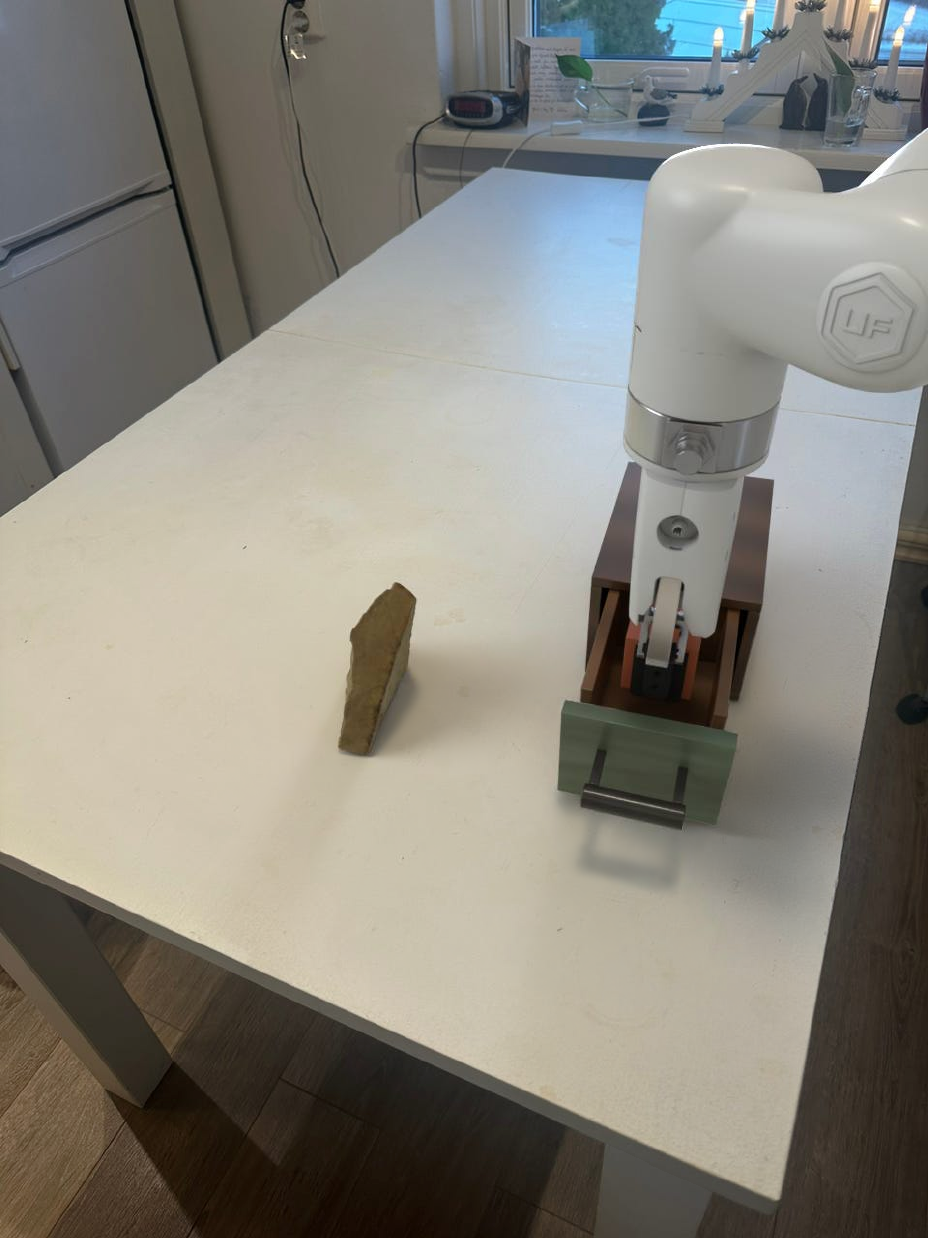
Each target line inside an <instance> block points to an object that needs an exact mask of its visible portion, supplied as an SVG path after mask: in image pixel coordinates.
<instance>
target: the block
mask: <svg viewBox="0 0 928 1238" xmlns="http://www.w3.org/2000/svg"><path fill="white" fill-rule="evenodd" d="M651 607H655V605H654V604H652V605H651ZM678 611H681V612H682V609H679V608H678ZM651 628H652V624H651ZM640 630H641V623H639V625H638V626H636V625H635V624H634V623H633V622H632V621H631V620H630V624H629V628H628V632H627V636H626V642H625V651H624V660H623V669H622V678H621V687H625V688H630V683H631V675H632V667H633V658H634V650H635V646H636V644H638V643H639V636H640ZM679 632H680V629H674V635H673V640H672V642H675V643H678V637H679ZM650 634H651V629H650ZM649 638H650V636H649ZM700 642H701V637H699V636H692V635H691V633H690V631H689V633H688V638H687V644H686V650H685V653H689V657H688V663H687V668H686V674H685V680H684V685H683V691H682V696H681V698H683V699H688V700H690V696H691V691H692V686H693V680H694V675H695V670H696V665H697V659H698V654H699V649H700Z"/></svg>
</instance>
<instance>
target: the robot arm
mask: <svg viewBox="0 0 928 1238" xmlns="http://www.w3.org/2000/svg"><path fill="white" fill-rule="evenodd" d="M643 203H644V204H643V209H642V221H641V233H640V245H639V255H638V265H637V275H636V276H637V277H636V288H635V289H636V290H635V299H634V301H635V302H634V311H633V322H632V333H631V334H632V335H631V345H630V356H629V369H628V378H627V392H626V402H625V403H626V404H625V414H624V416H625V417H624V426H623V433H622V435H623V436H622V445H623V448H624V450H625V452H626V454H627V455H628V457H629V458H630V459H631V460H632V462H636V463H637V464H638V465H640V466H641V467H642V472H641V481H640V489H639V498H638V508H637V517H636V527H635V537H634V549H633V560H632V573H631V588H630V605H629V617H630V619H631V621H632V622H633V623H634V624H635V625H636V626H638V625H639V623H641V630H640V636H639V643H638V644H636V646H635V650H634V658H633V667H632V675H631V683H630V693H631V694H632V695H634V696H638V697H644V698H649V699H654V700H659V701H665V702H670V703H679V702H680V701H681V696H682V691H683V685H684V680H685V674H686V668H687V663H688V657H689V653H685V650H686V644H687V638H688V633H689V631H690V633H691V635H692V636H699V637H703V638H707V637H709V636H710V635H712V634H713V633H714V632H715V629H716V624H717V618H718V613H719V608H720V603H721V598H722V592H723V587H724V582H725V578H726V573H727V568H728V563H729V558H730V553H731V548H732V543H733V538H734V533H735V528H736V523H737V518H738V513H739V507H740V501H741V495H742V489H743V482H744V476H749V475H751V474H752V473H755V472H756V471H757V470H758V469H760V468H762V465H764V464H765V463H766V461H767V459H768V457H769V455H770V449H771V445H772V440H773V437H774V433H775V427H776V423H777V418H778V414H779V409H780V404H781V400H782V394H783V391H784V385H785V381H786V378H787V377H786V376H787V372H788V368H789V365H790V366H791V367H795V368H797V369H799V370H801V371H804V372H805V373H807V374H810V375H812V376H815V377H817V378H820V379H822V380H825V381H827V382H829V383H832V384H835V385H838V386H840V387H841V386H842V387H844V388H848V389H851V390H856V391H861V392H864V393H874V394H875V393H876V394H877V393H878V394H894V393H895V394H896V393H901V392H906V391H912V390H916V389H918V388H921V387H924V386H927V385H928V127H927V128H926V129H924V130H923V131H922V132H920V133H919V134H918V135H916V136H915V137H914V138H913V139H911V140H910V141H908V142H907V143H906V144H905V145H903V146H902V147H901V148H900V149H898V150H897V151H896V152H895V153H894V154H893V155H892V156H890V157H889V158H887V160H885V161H884V162H883V163H882V164H881V165H880V166H879V167H877V168H876V170H875V171H874V172H872V173H871V174H870V175H869V176H868V177H867V178H866V179H865V180H864V181H863V182H861V184H860V185H859V186H856V187H853V188H849V189H847V190H844V191H840V192H835V193H834V192H833V193H824V186H823V181H822V178H821V175H820V172H819V171H818V170H817V168H816V167H815V166H814V165H813V164H812V163H811V162H810V161H809V160H808V159H806V158H804V157H802V156H801V155H798V154H796V153H793V152H791V151H789V150H784V149H781V148H777V147H772V146H765V145H757V144H744V143H743V144H742V143H741V144H740V143H733V144H731V143H728V144H727V143H726V144H712V145H706V146H700V147H696V148H692V149H689V150H684V151H682V152H678V153H676V154H674V155H672V156H671V157H669V158H668V159H667V160H665V161H663V162H662V163H661V164H660V165H659V166H658V167H657V168H656V171H654V172H653V174H652V175H651V178H650V180H649V182H648V186H647V189H646V192H645V196H644V202H643ZM652 604H654V605H655V607H651V605H652ZM678 608H679V609H682V612H681V611H678ZM651 624H652V628H651ZM650 629H651V634H650ZM674 629H680V632H679V637H678V643H675V642H672V640H673V635H674ZM649 636H650V638H649Z"/></svg>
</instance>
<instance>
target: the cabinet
mask: <svg viewBox="0 0 928 1238" xmlns="http://www.w3.org/2000/svg"><path fill="white" fill-rule="evenodd" d="M641 472H642V467H641V466H640V465H638V464H637V463H636V462H634V461H631V460H630V461H628V462H627V465H626V468H625V471H624V475H623V477H622V481H621V484H620V487H619V490H618V493H617V496H616V500H615V503H614V506H613V509H612V512H611V515H610V517H609V522H608V525H607V526H606V527H607V528H606V531H605V534H604V537H603V540H602V543H601V545H600V550H599V551H598V552H599V553H598V556H597V559H596V562H595V565H594V568H593V572H592V574H591V579H590V593H589V607H588V620H587V621H588V622H587V632H586V633H587V634H586V646H585V647H586V649H585V660H584V661H585V663H584V664H585V665H584V673H585V672H586V668H587V665H588V662H589V658H590V655H591V651H592V648H593V645H594V641H595V638H596V634H597V631H598V627H599V624H600V621H601V617H602V614H603V610H604V607H605V603H606V600H607V597H608V593H609V590H610V588H611V589H618V590H624V591H630V588H631V573H632V560H633V549H634V537H635V527H636V517H637V508H638V498H639V489H640V481H641ZM774 487H775V479H771V478H764V477H758V476H757V477H756V476H749V475H746V476H744V482H743V489H742V495H741V501H740V507H739V513H738V518H737V523H736V528H735V533H734V538H733V543H732V548H731V553H730V558H729V563H728V568H727V573H726V578H725V582H724V587H723V592H722V598H721V603H720V606H722V607H728V608H734V609H740V616H739V624H738V632H737V640H736V648H735V657H734V665H733V673H732V681H731V689H730V698H729V700H732V701H737V702H738V701H739V700H740V696H741V692H742V689H743V685H744V680H745V676H746V673H747V669H748V665H749V660H750V657H751V653H752V649H753V644H754V640H755V637H756V632H757V628H758V625H759V620H760V616H761V612H762V608H763V605H764V604H763V603H764V593H765V584H766V573H767V561H768V550H769V539H770V532H771V531H770V529H771V519H772V510H773V509H772V508H773V499H774V497H773V496H774V489H775V488H774Z"/></svg>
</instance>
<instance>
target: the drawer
mask: <svg viewBox="0 0 928 1238" xmlns="http://www.w3.org/2000/svg"><path fill="white" fill-rule="evenodd" d="M629 605H630V591H624V590H618V589H611V588H610V590H609V593H608V597H607V600H606V603H605V607H604V610H603V614H602V617H601V621H600V624H599V627H598V631H597V634H596V638H595V641H594V645H593V648H592V651H591V655H590V658H589V662H588V665H587V668H586V672H585V671H584V675H583V679H582V682H581V686H580V691H579V692H580V693H579V701H577V700H573V699H571V700H570V699H564V702H563V704H562V709H561V712H560V725H559V726H560V727H559V746H558V748H559V749H558V767H557V768H558V771H557V791H559V792H564V793H568V794H572V795H577V796H580V801H579V808H581V809H585V810H588V811H593V812H597V813H602V814H606V815H611V816H615V817H618V818H623V819H627V820H632V821H636V822H641V823H645V824H650V825H654V826H659V827H662V828H666V829H672V830H676V831H679V832H680V831H683V828H684V823H685V820H689V821H693V822H697V823H701V824H702V823H703V824H706V825H711V826H717V824H718V820H719V816H720V814H721V813H720V812H721V808H722V805H723V801H724V798H725V793H726V790H727V785H728V782H729V779H730V773H731V770H732V766H733V763H734V760H735V759H734V758H735V755H736V751H737V745H738V737H739V736H738V735H739V734H738V732H733V731H729V730H725V728H726V724H727V723H726V722H727V718H728V712H729V705H730V699H729V698H730V689H731V681H732V673H733V665H734V657H735V648H736V640H737V632H738V624H739V616H740V609H734V608H728V607H722V606H720V608H719V613H718V618H717V624H716V629H715V632H714V633H713V634H712V635H710V636H709V637H707V638H703V637H701V642H700V649H699V654H698V659H697V665H696V670H695V675H694V680H693V686H692V691H691V696H690V700H688V699H683V698H681V701H680V702H679V703H670V702H665V701H659V700H654V699H649V698H644V697H638V696H634V695H632V694H631V693H630V688H625V687H621V678H622V669H623V660H624V651H625V642H626V636H627V632H628V628H629V624H630V620H631V619H630V617H629Z"/></svg>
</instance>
